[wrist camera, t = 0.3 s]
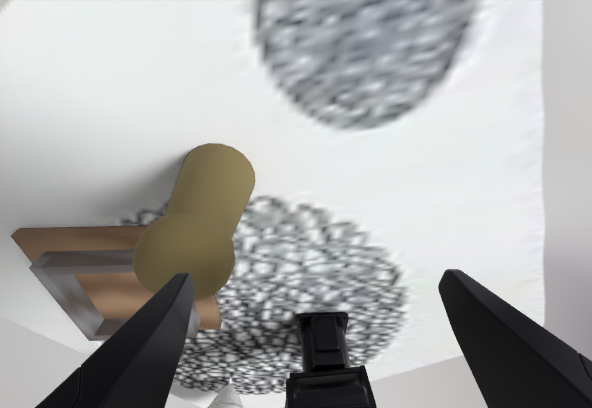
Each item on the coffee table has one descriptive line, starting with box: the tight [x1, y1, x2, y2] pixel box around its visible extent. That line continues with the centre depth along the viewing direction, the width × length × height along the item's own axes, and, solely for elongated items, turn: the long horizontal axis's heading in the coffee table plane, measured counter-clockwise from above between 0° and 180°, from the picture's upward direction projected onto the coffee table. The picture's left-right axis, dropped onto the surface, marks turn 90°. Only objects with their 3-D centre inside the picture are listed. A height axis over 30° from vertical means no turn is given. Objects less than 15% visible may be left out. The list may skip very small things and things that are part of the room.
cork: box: [133, 143, 255, 302], centre depth 18 cm, size 6×6×11 cm
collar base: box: [11, 226, 222, 341], centre depth 28 cm, size 16×16×3 cm
